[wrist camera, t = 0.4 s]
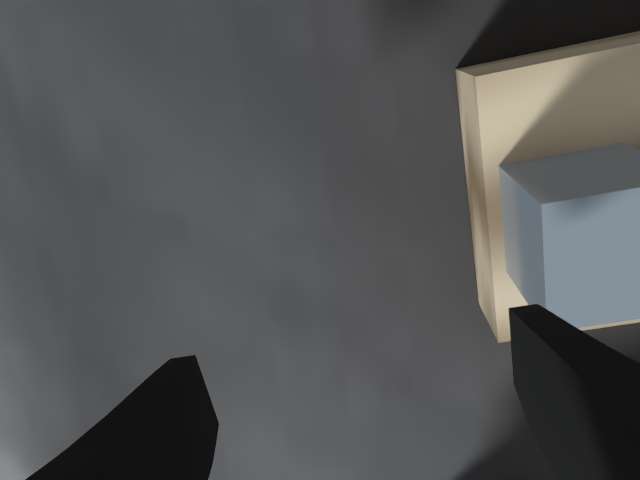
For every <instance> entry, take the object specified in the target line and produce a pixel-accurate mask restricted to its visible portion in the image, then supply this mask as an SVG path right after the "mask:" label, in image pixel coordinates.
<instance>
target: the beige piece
mask: <svg viewBox="0 0 640 480" xmlns="http://www.w3.org/2000/svg"><path fill="white" fill-rule="evenodd" d="M456 79H457V89H458V99H459V109H460V119H461V129H462V139H463V149H464V159H465V169H466V179H467V189H468V198H469V208H470V218H471V228H472V238H473V248H474V258H475V268H476V278H477V288H478V298H479V305H480V307H481V309H482V311H483V313H484V315H485V317H486V319H487V321H488V323H489V325H490V327H491V329H492V331H493V333H494V335H495V337H496V339H497V341H498V343H501V342H508V341H511V336H510V322H509V309H508V308H512V307H519V306H525V305H528V303H527V302H526V300H525V299H524V297H523V296H522V294H521V293H520V291H519V290H518V288H517V287H516V285H515V284H514V282H513V281H512V279H511V278H510V276H509V275H508V273H507V272H506V260H505V247H504V233H503V220H502V207H501V194H500V181H499V168H498V166H500V165H505V164H511V163H516V162H522V161H527V160H532V159H538V158H543V157H549V156H554V155H560V154H565V153H570V152H576V151H581V150H587V149H592V148H597V147H603V146H608V145H614V144H619V143H626V144H628V145H630V146H633V147H635V148H637V149H640V31H637V32H632V33H627V34H622V35H618V36H613V37H608V38H603V39H598V40H593V41H589V42H584V43H579V44H574V45H569V46H564V47H560V48H555V49H550V50H545V51H540V52H535V53H531V54H526V55H521V56H516V57H511V58H506V59H502V60H497V61H492V62H487V63H482V64H477V65H472V66H468V67H463V68H458V69H456ZM637 322H640V319H636V320H630V321H623V322H616V323H609V324H602V325H596V326H589V327H582V328H578V329H579V330H581V331H582V330H589V329H596V328H603V327H610V326H616V325H623V324H630V323H637Z"/></svg>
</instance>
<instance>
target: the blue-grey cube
mask: <svg viewBox="0 0 640 480" xmlns="http://www.w3.org/2000/svg"><path fill="white" fill-rule="evenodd" d="M498 168H499V181H500V194H501V207H502V220H503V233H504V247H505V260H506V272H507V273H508V275H509V276H510V278H511V279H512V281H513V282H514V284H515V285H516V287H517V288H518V290H519V291H520V293H521V294H522V296H523V297H524V299H525V300H526V302H527V303H528V305H532V304H538V305H540V306H542V307H544V308H545V309H547V310H549V311H550V312H552V313H553V314H555V315H557V316H558V317H560V318H561V319H563V320H565V321H566V322H568V323H570V324H571V325H573V326H574V327H576V328H582V327H589V326H596V325H602V324H609V323H616V322H623V321H630V320H636V319H640V149H637V148H635V147H633V146H630V145H628V144H626V143H619V144H614V145H608V146H603V147H597V148H592V149H587V150H581V151H576V152H570V153H565V154H560V155H554V156H549V157H543V158H538V159H532V160H527V161H522V162H516V163H511V164H505V165H500V166H498Z"/></svg>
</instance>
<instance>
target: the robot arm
mask: <svg viewBox="0 0 640 480" xmlns="http://www.w3.org/2000/svg"><path fill="white" fill-rule="evenodd" d="M508 309H509V322H510V336H511V350H512V363H513V377H514V385H515V388H516V391H517V393H518V396H519V399H520V401H521V404H522V407H523V409H524V412H525V415H526V417H527V420H528V422H529V425H530V427H531V429H532V431H533V432H534V434H535V436H536V438H537V440H538V442H539V444H540V446H541V448H542V450H543V452H544V453H545V455H546V457H547V459H548V461H549V463H550V465H551V467H552V468H553V470H554V472H555V474H556V476H557V478H558V480H640V363H638V362H636V361H634V360H632V359H630V358H628V357H626V356H624V355H623V354H621V353H619V352H617V351H615V350H613V349H612V348H610V347H608V346H606V345H605V344H603V343H601V342H599V341H598V340H596V339H594V338H593V337H591V336H589V335H588V334H586V333H584V332H583V331H581V330H579V329H578V328H576V327H574V326H573V325H571V324H570V323H568V322H566V321H565V320H563V319H561V318H560V317H558V316H557V315H555V314H553V313H552V312H550V311H549V310H547V309H545V308H544V307H542V306H540V305H538V304H532V305H525V306H519V307H512V308H508ZM218 426H219V423H218V420H217V417H216V414H215V411H214V408H213V405H212V402H211V399H210V396H209V394H208V391H207V388H206V385H205V382H204V379H203V376H202V373H201V370H200V368H199V365H198V362H197V359H196V356H195V355H193V356H186V357H180V358H173V359H170V360H169V361H167V362H166V363H165V364H163V365H162V366H161V367H160V368H159V369H157V370H156V371H155V372H154V373H153V374H152V375H151V376H149V377H148V378H147V379H146V380H145V381H144V382H143V383H142V384H141V385H140V386H138V387H137V388H136V389H135V390H134V391H133V392H132V393H131V394H130V395H129V396H127V397H126V398H125V399H124V400H123V401H122V402H121V403H120V404H119V405H118V406H116V407H115V408H114V409H113V410H112V411H111V412H110V413H109V414H108V415H106V416H105V417H104V418H103V419H102V420H101V421H99V422H98V423H97V424H96V425H95V426H93V427H92V428H91V429H90V430H89V431H87V432H86V433H85V434H84V435H83V436H82V437H80V438H79V439H78V440H77V441H76V442H74V443H73V444H72V445H71V446H70V447H68V448H67V449H66V450H65V451H63V452H62V453H61V454H60V455H58V456H57V457H56V458H54V459H53V460H52V461H50V462H49V463H48V464H46V465H45V466H44V467H42V468H41V469H39V470H38V471H37V472H35V473H34V474H33V475H31V476H30V477H28V478H27V479H26V480H208V478H209V474H210V471H211V467H212V463H213V458H214V452H215V446H216V440H217V433H218Z"/></svg>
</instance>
